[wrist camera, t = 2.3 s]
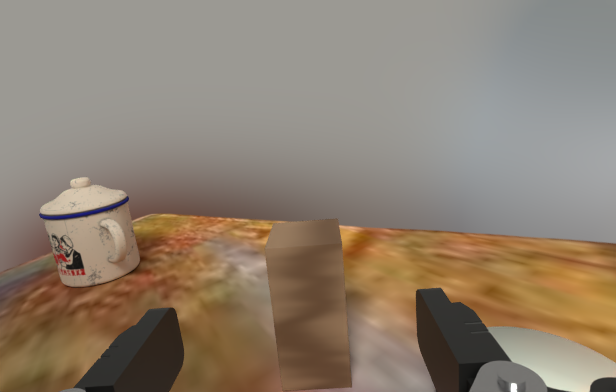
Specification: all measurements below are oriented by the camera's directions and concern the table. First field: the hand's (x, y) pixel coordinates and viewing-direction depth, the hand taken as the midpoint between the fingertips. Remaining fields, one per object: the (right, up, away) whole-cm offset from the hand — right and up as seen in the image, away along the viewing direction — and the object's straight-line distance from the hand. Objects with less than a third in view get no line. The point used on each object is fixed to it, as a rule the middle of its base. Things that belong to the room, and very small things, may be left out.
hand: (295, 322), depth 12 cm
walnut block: (+1, -8, +14) cm, 16 cm away
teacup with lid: (-24, -5, +32) cm, 40 cm away
